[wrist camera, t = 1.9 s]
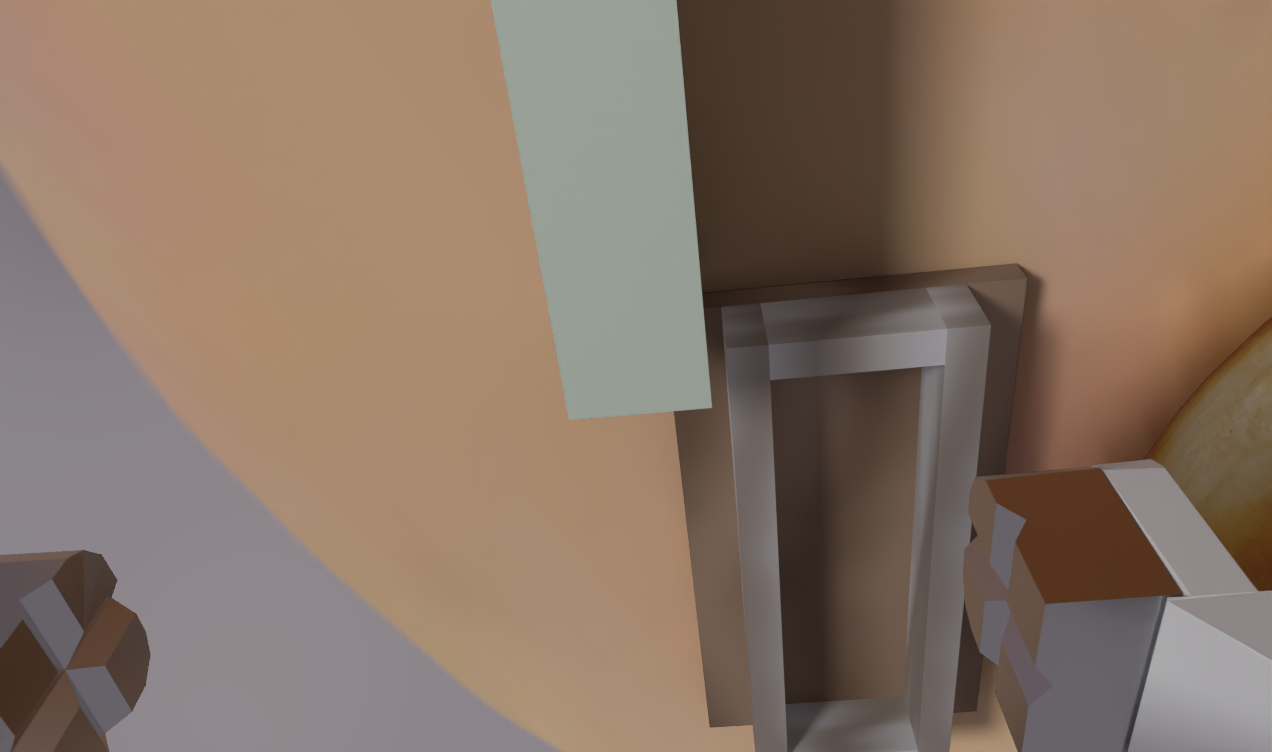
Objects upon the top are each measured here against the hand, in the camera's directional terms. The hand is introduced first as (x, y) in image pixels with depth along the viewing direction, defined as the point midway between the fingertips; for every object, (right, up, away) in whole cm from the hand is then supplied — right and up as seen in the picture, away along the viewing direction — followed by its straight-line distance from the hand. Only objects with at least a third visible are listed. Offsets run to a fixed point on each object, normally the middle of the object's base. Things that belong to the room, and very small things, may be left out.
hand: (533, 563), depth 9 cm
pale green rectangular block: (0, +11, +17) cm, 20 cm away
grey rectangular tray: (+8, -4, +26) cm, 28 cm away
